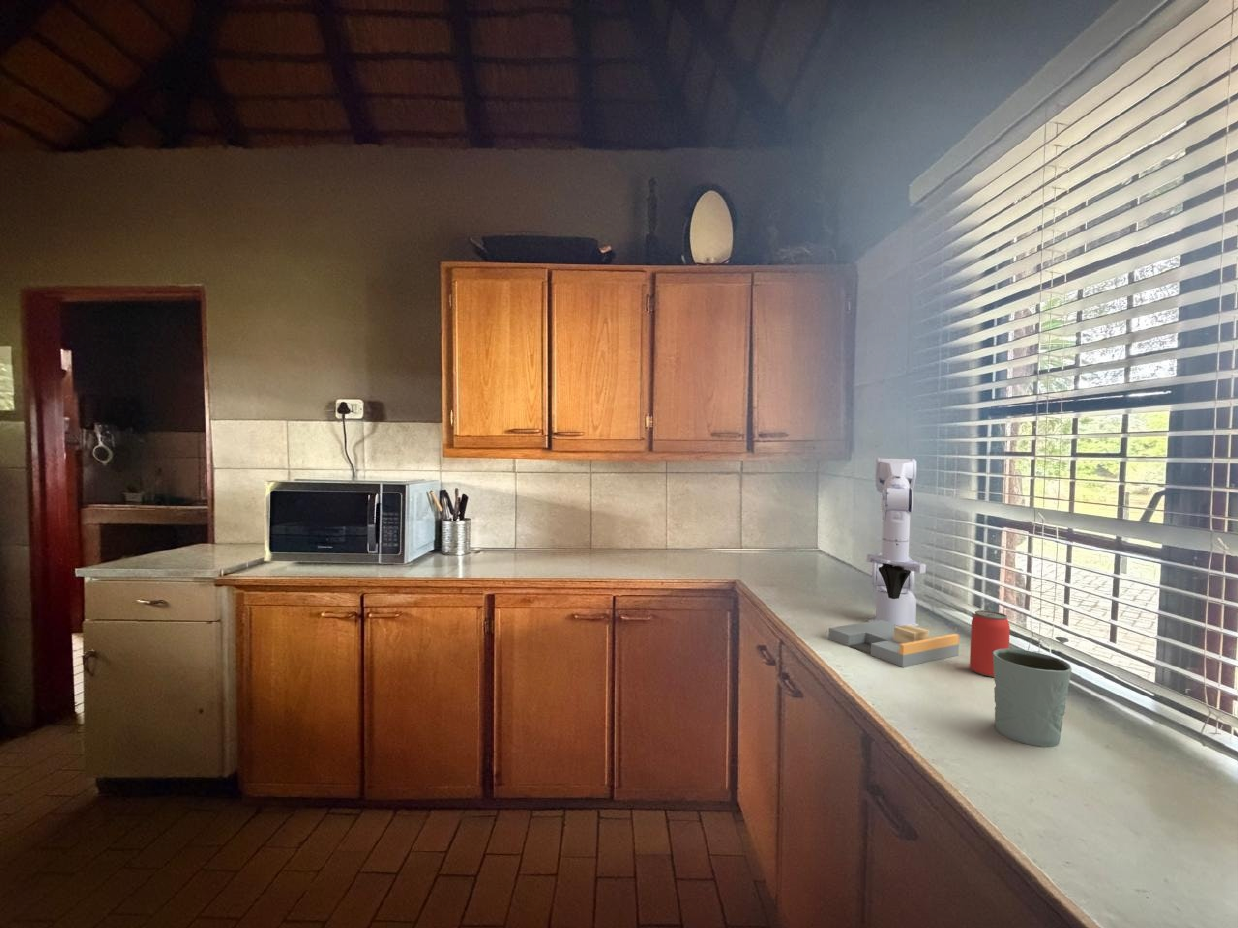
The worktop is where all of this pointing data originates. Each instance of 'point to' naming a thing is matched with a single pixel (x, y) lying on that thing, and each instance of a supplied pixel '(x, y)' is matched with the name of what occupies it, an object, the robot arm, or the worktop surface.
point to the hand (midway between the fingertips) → (893, 598)
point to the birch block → (909, 634)
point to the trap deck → (894, 643)
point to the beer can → (987, 640)
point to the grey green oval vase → (1030, 696)
